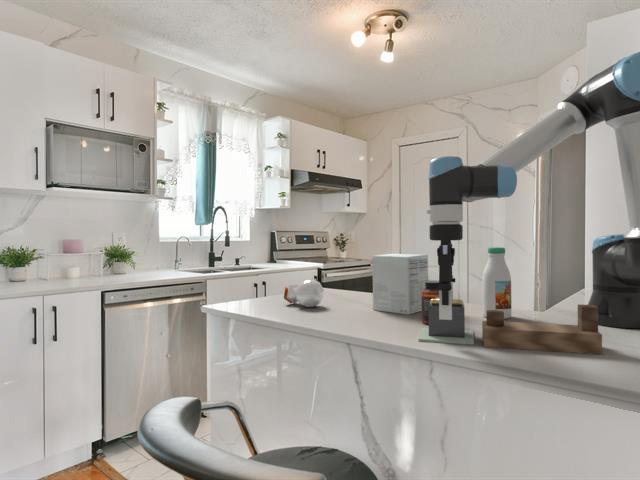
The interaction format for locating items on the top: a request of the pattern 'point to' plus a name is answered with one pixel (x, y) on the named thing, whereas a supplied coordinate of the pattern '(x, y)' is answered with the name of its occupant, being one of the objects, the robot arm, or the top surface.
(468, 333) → the mat
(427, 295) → the supplement bottle
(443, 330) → the lever cap
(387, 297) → the supplement box
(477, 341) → the top surface
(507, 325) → the plane body
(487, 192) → the robot arm
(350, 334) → the top surface
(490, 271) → the milk bottle
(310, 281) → the potion bottle
